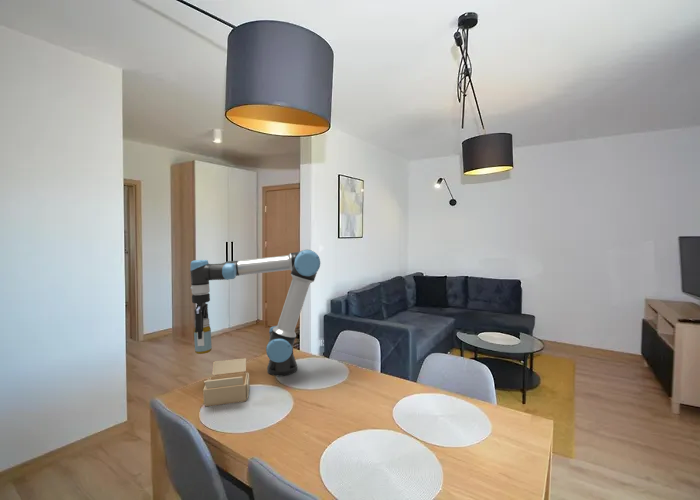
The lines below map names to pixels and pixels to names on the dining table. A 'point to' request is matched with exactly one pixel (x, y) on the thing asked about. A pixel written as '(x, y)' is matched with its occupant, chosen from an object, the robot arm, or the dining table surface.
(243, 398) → the carton
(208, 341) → the bottle
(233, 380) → the front flap
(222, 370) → the back flap
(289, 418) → the dining table surface
